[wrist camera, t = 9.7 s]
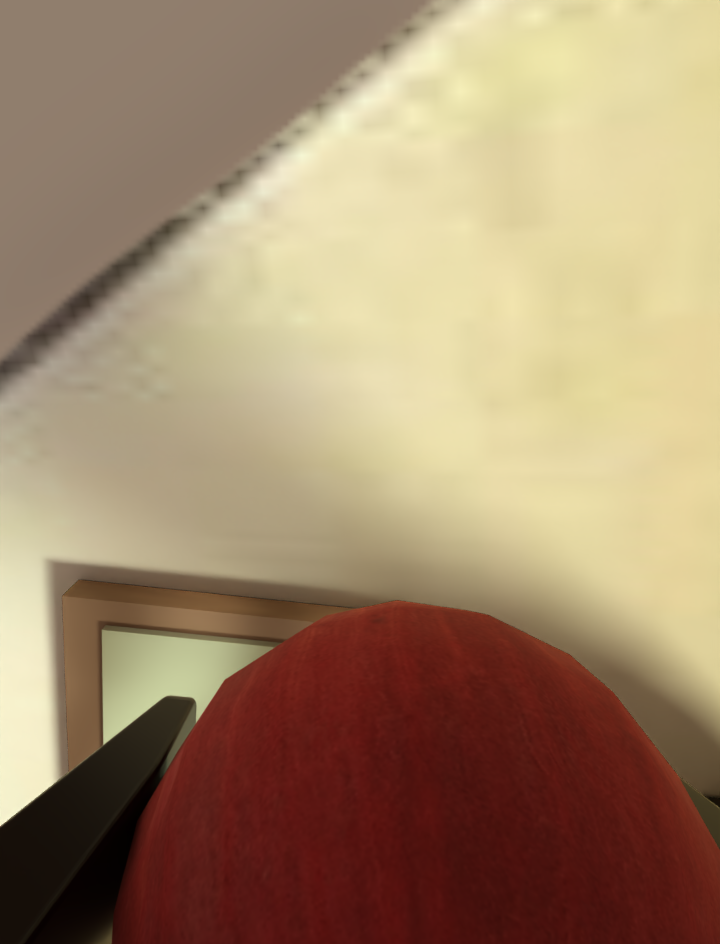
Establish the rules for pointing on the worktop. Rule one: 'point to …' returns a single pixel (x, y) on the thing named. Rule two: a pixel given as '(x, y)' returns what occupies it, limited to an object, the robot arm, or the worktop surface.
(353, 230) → the worktop surface
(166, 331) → the worktop surface
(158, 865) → the onion
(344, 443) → the worktop surface
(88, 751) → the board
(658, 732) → the worktop surface
